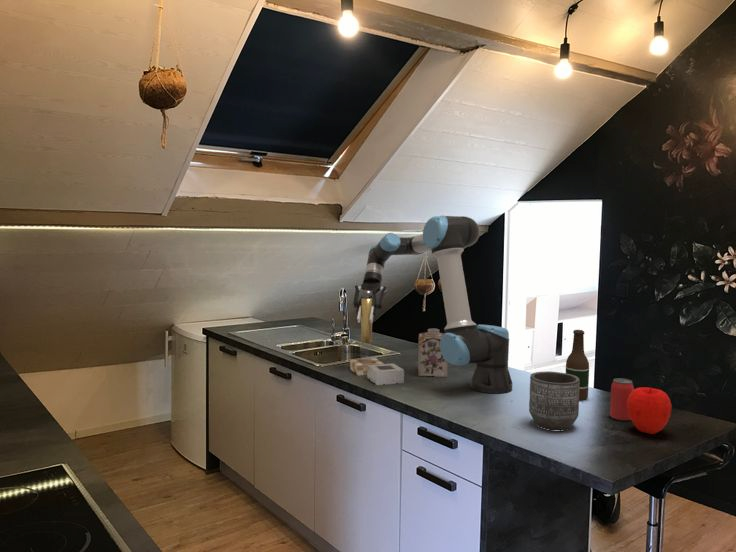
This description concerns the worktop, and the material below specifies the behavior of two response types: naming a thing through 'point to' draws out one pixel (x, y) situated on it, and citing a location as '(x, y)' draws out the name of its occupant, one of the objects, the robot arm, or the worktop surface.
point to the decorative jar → (431, 355)
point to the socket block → (385, 374)
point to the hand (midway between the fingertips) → (364, 320)
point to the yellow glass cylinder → (366, 316)
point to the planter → (554, 399)
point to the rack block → (363, 365)
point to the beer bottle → (579, 364)
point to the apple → (649, 409)
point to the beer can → (620, 398)
